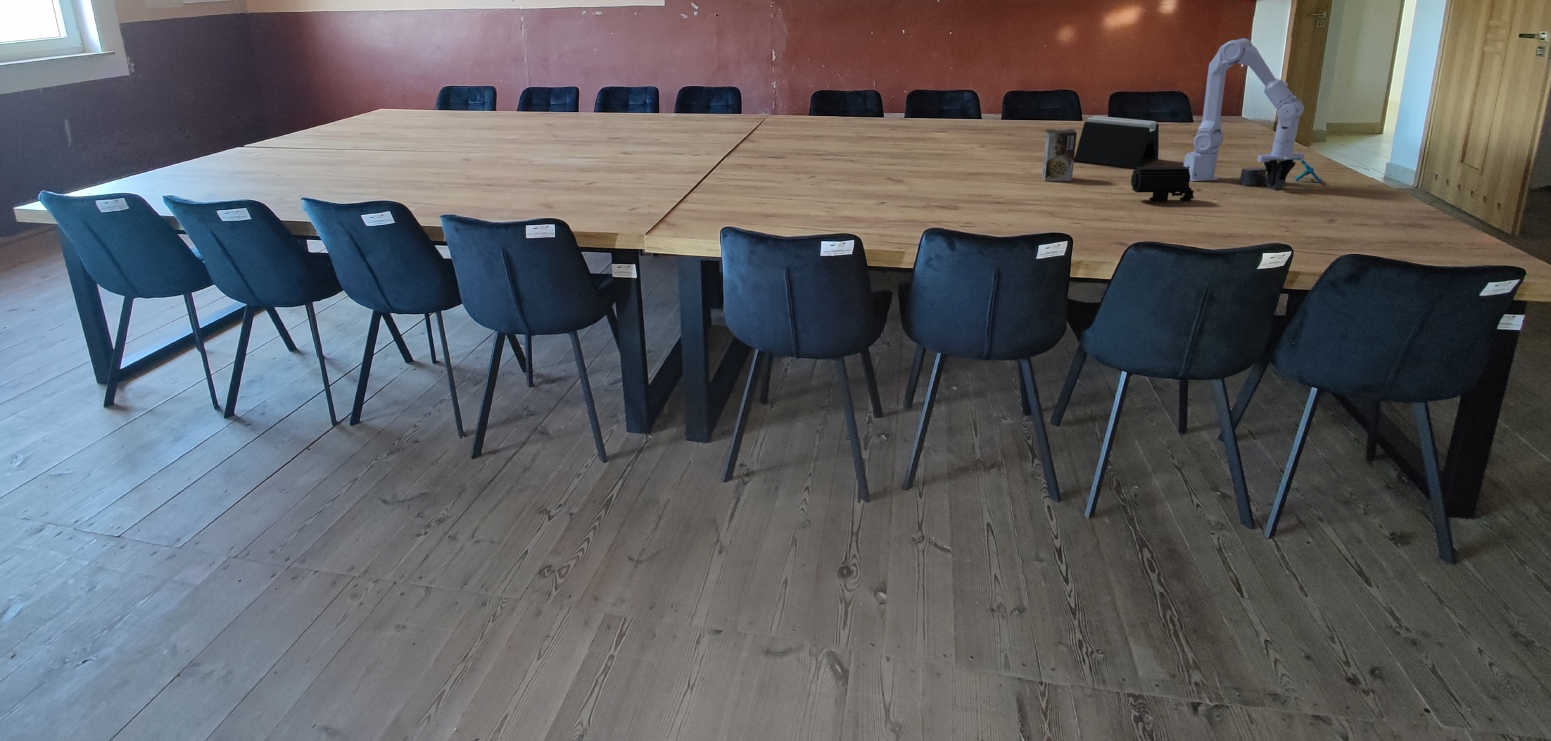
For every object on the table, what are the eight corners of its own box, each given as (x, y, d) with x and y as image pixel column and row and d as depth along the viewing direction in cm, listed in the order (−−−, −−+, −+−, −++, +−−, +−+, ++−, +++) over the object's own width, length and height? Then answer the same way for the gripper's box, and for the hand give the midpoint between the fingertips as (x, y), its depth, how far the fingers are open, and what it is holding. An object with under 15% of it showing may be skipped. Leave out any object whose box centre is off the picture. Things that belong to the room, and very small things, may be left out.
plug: (1284, 189, 288) (1286, 178, 286) (1272, 190, 287) (1274, 178, 286) (1254, 179, 301) (1256, 168, 300) (1243, 180, 301) (1245, 169, 299)
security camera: (1196, 203, 274) (1201, 170, 270) (1134, 204, 274) (1139, 170, 270) (1187, 197, 280) (1192, 165, 276) (1126, 198, 281) (1131, 166, 277)
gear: (1324, 181, 290) (1303, 156, 291) (1306, 193, 294) (1286, 169, 294) (1322, 178, 300) (1302, 155, 301) (1305, 190, 303) (1285, 167, 304)
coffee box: (1068, 177, 308) (1074, 128, 302) (1072, 181, 303) (1078, 132, 296) (1040, 177, 309) (1045, 128, 303) (1044, 181, 303) (1049, 132, 297)
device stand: (1135, 170, 317) (1142, 127, 311) (1073, 163, 331) (1078, 121, 324) (1157, 160, 333) (1164, 118, 327) (1097, 153, 346) (1103, 112, 340)
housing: (1244, 186, 293) (1247, 170, 291) (1239, 184, 295) (1242, 168, 293) (1284, 184, 294) (1288, 168, 292) (1278, 182, 297) (1282, 166, 295)
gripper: (1271, 144, 279) (1261, 188, 284) (1314, 142, 280) (1304, 185, 286) (1256, 140, 285) (1248, 183, 291) (1299, 138, 287) (1289, 181, 292)
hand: (1275, 184), depth 289 cm, fingers closed on plug, 2 cm apart
